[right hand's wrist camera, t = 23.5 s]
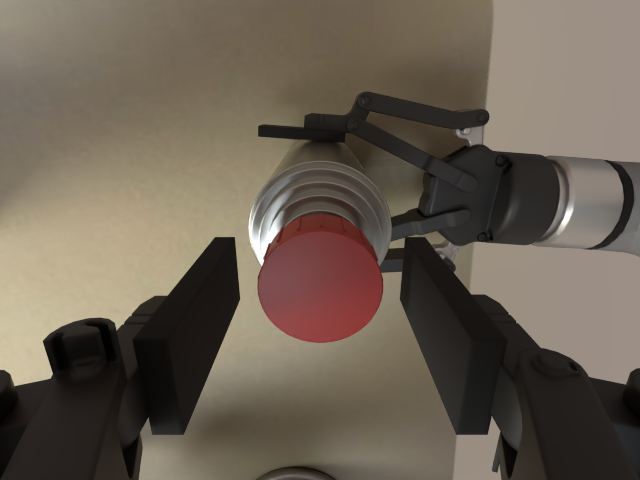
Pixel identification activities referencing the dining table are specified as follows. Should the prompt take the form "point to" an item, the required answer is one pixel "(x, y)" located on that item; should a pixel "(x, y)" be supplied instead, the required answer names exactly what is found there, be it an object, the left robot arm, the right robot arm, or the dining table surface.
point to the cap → (320, 279)
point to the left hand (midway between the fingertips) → (260, 181)
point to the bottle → (320, 195)
